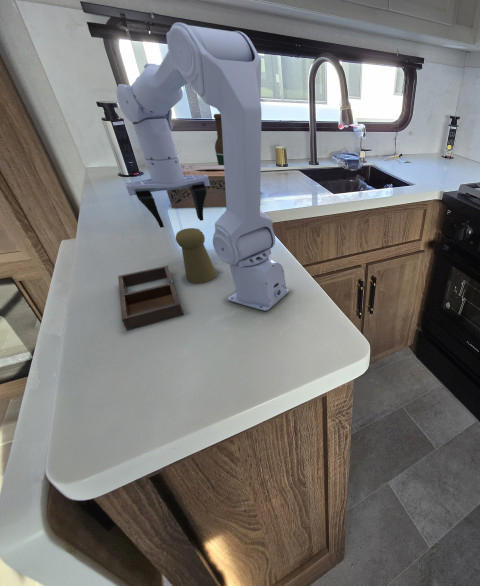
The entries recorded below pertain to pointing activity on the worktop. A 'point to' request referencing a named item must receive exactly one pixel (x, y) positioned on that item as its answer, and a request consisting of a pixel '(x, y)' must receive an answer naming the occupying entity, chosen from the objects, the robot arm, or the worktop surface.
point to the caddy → (148, 298)
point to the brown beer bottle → (219, 140)
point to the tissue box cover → (214, 191)
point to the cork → (195, 256)
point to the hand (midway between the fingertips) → (181, 222)
